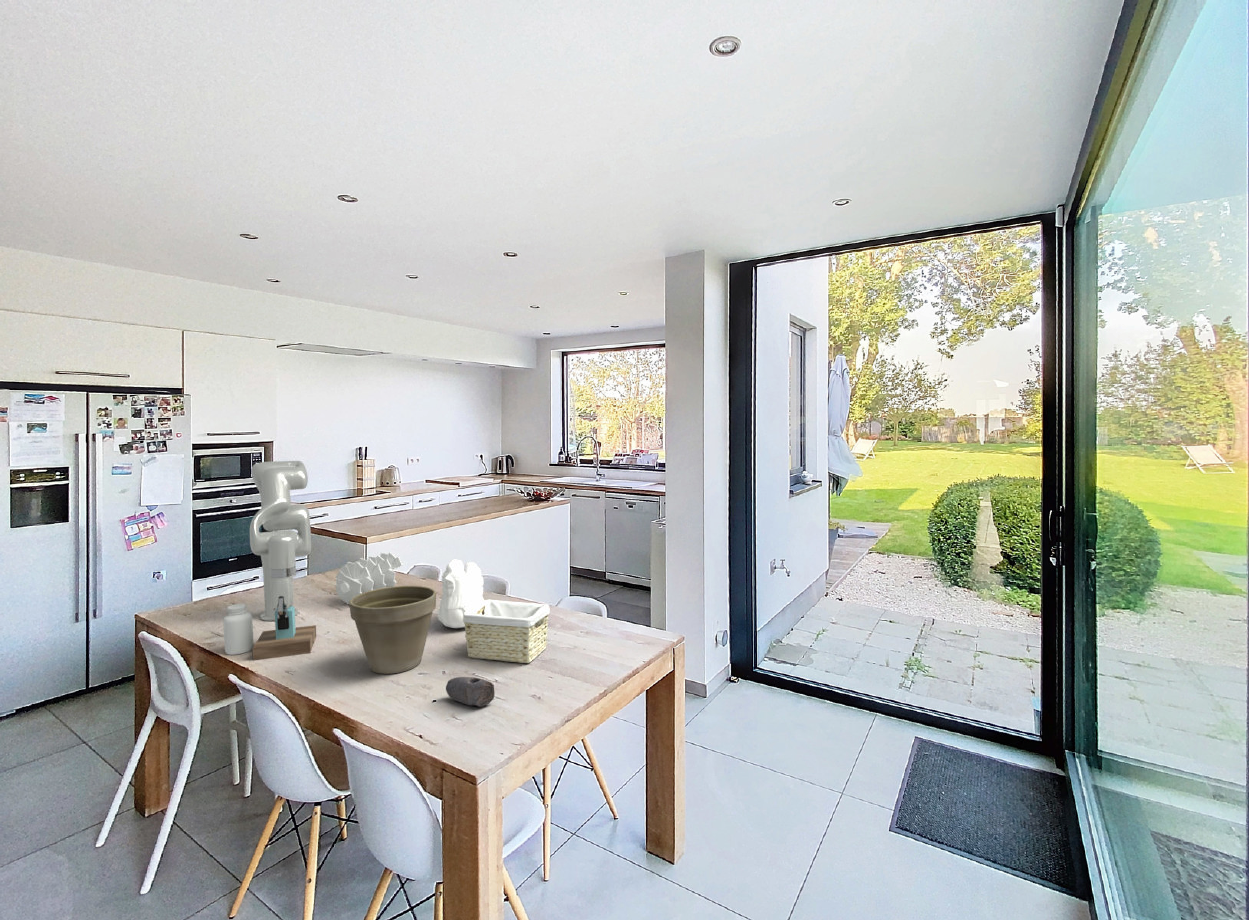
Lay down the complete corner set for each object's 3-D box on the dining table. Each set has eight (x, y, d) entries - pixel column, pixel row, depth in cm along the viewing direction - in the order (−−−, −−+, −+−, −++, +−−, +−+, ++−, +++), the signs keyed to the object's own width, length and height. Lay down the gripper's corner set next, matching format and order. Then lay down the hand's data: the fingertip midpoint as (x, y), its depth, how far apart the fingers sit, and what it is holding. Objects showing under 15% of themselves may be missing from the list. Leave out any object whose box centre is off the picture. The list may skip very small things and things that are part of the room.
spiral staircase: (338, 615, 245) (383, 595, 268) (366, 601, 238) (411, 582, 261) (320, 574, 246) (367, 557, 269) (348, 559, 239) (394, 543, 262)
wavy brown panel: (263, 642, 204) (263, 631, 203) (316, 636, 209) (315, 625, 209) (253, 660, 189) (252, 648, 188) (310, 653, 194) (309, 641, 194)
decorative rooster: (462, 636, 208) (460, 566, 206) (427, 630, 215) (425, 561, 213) (505, 615, 231) (504, 551, 229) (473, 609, 237) (471, 547, 236)
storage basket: (461, 658, 189) (460, 612, 188) (487, 640, 205) (486, 598, 204) (530, 667, 182) (529, 619, 181) (552, 647, 198) (551, 603, 197)
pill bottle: (223, 657, 191) (220, 611, 190) (226, 648, 199) (224, 604, 197) (252, 652, 195) (250, 607, 194) (254, 644, 202) (252, 600, 201)
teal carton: (278, 634, 200) (277, 608, 200) (295, 632, 202) (294, 606, 201) (275, 639, 196) (274, 612, 195) (293, 637, 197) (292, 610, 197)
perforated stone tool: (440, 701, 161) (439, 675, 160) (454, 693, 165) (453, 668, 165) (483, 713, 154) (482, 687, 153) (496, 704, 158) (496, 679, 158)
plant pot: (374, 648, 198) (372, 584, 196) (448, 649, 197) (447, 584, 195) (335, 681, 173) (332, 608, 171) (420, 682, 172) (418, 608, 171)
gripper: (274, 567, 204) (277, 619, 205) (264, 580, 188) (267, 636, 189) (299, 565, 207) (301, 616, 208) (291, 577, 190) (294, 633, 192)
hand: (285, 625), depth 198 cm, fingers open, 6 cm apart
